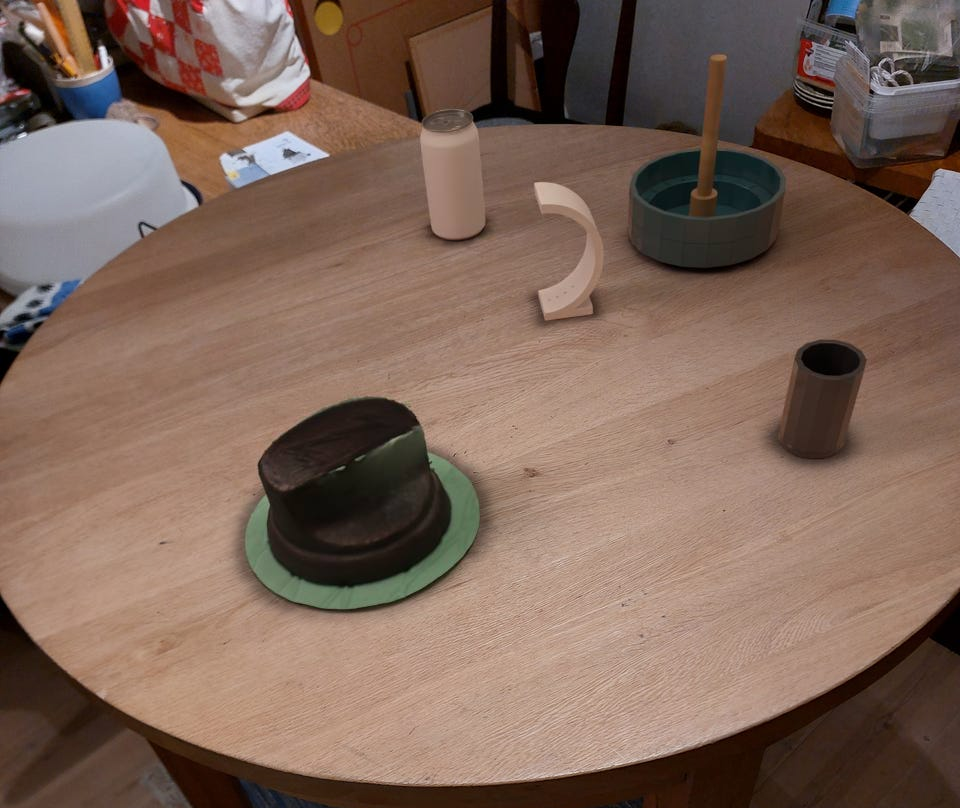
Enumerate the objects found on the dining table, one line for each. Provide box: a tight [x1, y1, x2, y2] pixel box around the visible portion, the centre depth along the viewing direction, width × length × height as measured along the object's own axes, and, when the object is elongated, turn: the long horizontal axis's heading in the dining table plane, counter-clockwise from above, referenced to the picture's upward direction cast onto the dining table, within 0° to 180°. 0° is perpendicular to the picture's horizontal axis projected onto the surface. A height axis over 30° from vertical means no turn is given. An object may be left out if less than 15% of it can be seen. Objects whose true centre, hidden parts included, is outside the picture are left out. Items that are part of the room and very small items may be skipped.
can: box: [419, 108, 486, 241], centre depth 102 cm, size 6×6×12 cm
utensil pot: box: [778, 339, 868, 460], centre depth 75 cm, size 5×6×8 cm
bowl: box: [627, 147, 788, 269], centre depth 98 cm, size 16×16×6 cm
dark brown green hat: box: [244, 395, 481, 610], centre depth 74 cm, size 15×19×20 cm
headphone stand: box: [533, 181, 605, 322], centre depth 90 cm, size 5×6×12 cm
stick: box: [689, 53, 728, 217], centre depth 94 cm, size 3×3×17 cm
